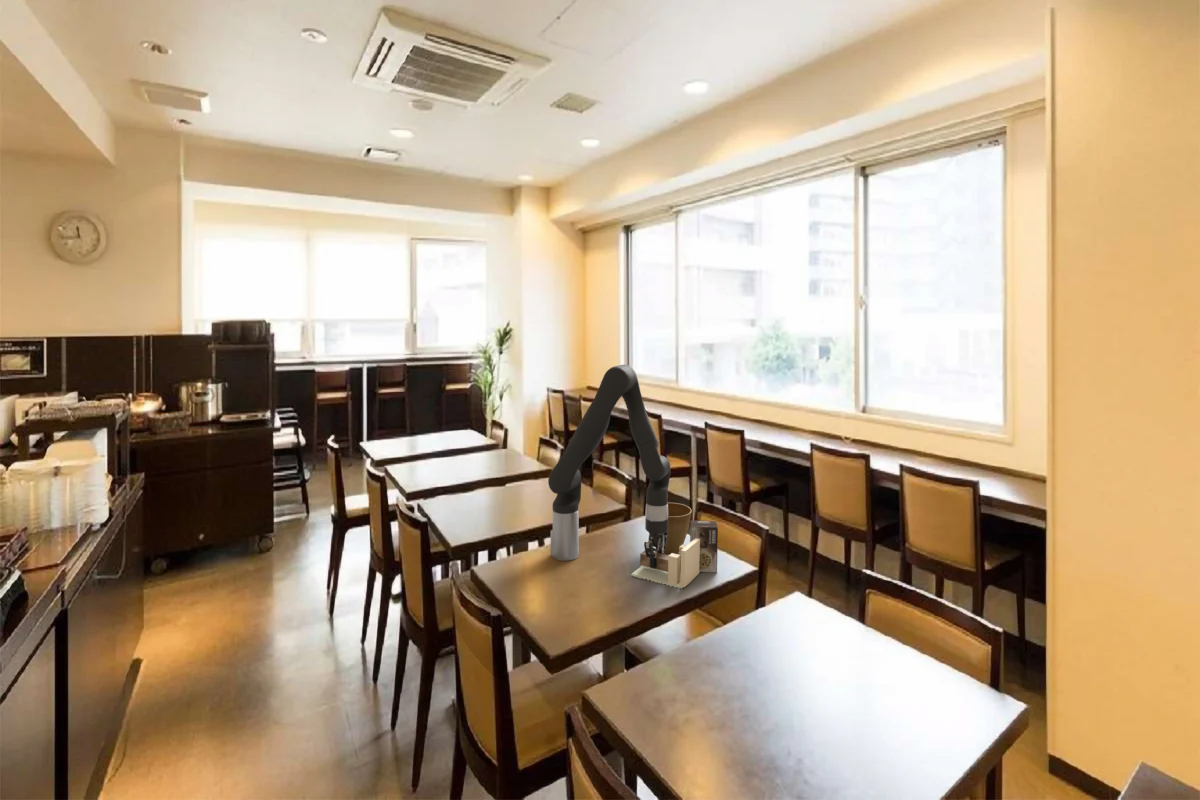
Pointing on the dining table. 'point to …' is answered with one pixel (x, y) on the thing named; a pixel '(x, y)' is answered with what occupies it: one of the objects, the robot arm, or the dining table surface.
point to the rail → (661, 561)
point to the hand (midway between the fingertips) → (656, 565)
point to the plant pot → (677, 526)
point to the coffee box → (706, 543)
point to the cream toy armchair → (675, 567)
